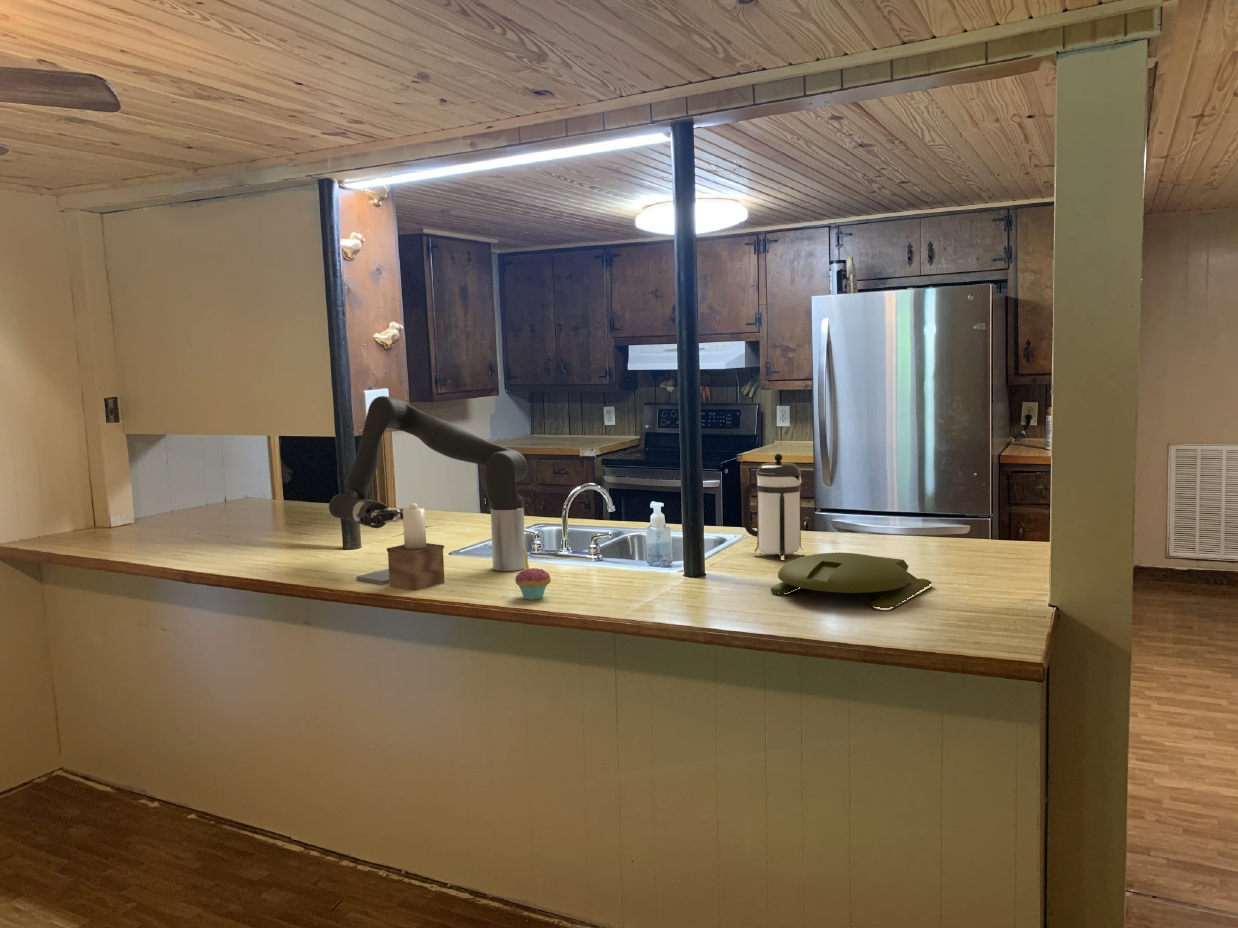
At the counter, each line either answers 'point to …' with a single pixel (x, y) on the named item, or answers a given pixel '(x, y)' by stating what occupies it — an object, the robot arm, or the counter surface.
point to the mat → (375, 577)
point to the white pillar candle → (414, 527)
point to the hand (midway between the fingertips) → (396, 519)
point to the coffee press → (776, 508)
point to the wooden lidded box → (416, 566)
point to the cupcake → (532, 581)
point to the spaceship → (851, 576)
